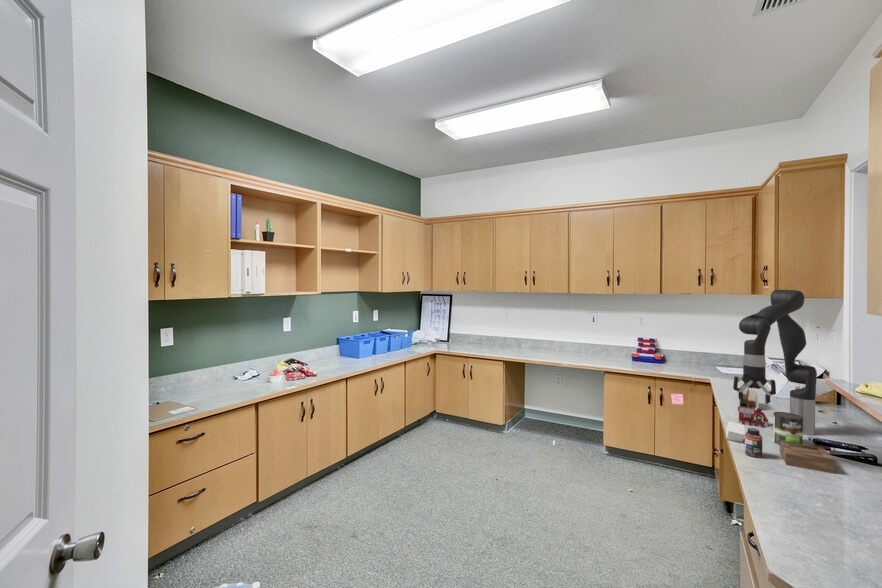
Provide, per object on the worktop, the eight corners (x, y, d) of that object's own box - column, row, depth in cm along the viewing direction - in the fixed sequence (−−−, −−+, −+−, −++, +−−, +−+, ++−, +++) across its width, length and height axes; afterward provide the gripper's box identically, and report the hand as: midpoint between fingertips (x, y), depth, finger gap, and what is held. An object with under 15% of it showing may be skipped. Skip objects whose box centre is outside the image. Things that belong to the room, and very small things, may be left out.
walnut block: (779, 453, 171) (779, 440, 171) (823, 461, 164) (823, 447, 164) (786, 465, 159) (786, 451, 159) (833, 474, 152) (833, 459, 152)
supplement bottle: (754, 452, 172) (754, 426, 172) (766, 458, 166) (766, 431, 166) (741, 452, 172) (741, 426, 172) (752, 458, 166) (752, 431, 166)
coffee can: (807, 451, 173) (808, 419, 173) (779, 448, 176) (779, 417, 176) (796, 443, 183) (796, 412, 182) (768, 440, 186) (769, 410, 186)
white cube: (741, 433, 186) (744, 425, 183) (741, 443, 182) (745, 435, 179) (725, 429, 189) (728, 421, 186) (726, 439, 185) (728, 431, 182)
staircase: (739, 414, 227) (739, 385, 227) (736, 409, 236) (737, 381, 236) (758, 416, 222) (758, 387, 222) (755, 411, 232) (755, 383, 232)
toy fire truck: (769, 432, 197) (769, 411, 197) (738, 427, 204) (738, 407, 204) (767, 428, 203) (767, 408, 203) (737, 423, 210) (737, 404, 210)
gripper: (773, 364, 168) (773, 402, 168) (732, 361, 175) (732, 397, 176) (777, 367, 162) (777, 406, 162) (734, 364, 169) (734, 401, 169)
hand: (753, 402), depth 169 cm, fingers open, 8 cm apart
